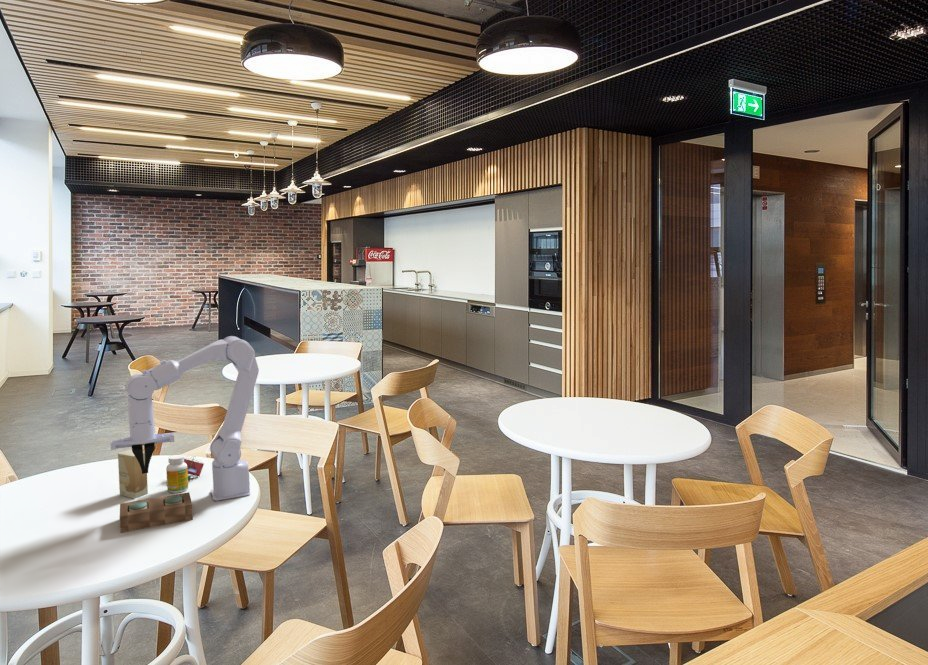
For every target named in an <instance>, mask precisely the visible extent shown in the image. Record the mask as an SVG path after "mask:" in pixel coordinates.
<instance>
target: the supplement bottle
mask: <svg viewBox="0 0 928 665" xmlns="http://www.w3.org/2000/svg"><path fill="white" fill-rule="evenodd" d="M184 459H185V456H184V455H183V454H174V455H171V456H169V457H168V464H167V466H166V469H165V470H166V486H167V492H168V493H170V494H180V493H184V492H185V491H187V490H188V489H189V476H188V471H187V464H186V463H185V462H184Z"/></svg>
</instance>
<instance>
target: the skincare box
mask: <svg viewBox="0 0 928 665" xmlns="http://www.w3.org/2000/svg"><path fill="white" fill-rule="evenodd" d="M117 459H118V460H117V461H118V466H117V467H118V484H119V487H118V488H119V496H123V497H127V498H132V499H137V498H140V497H143V496H145V495H147V494H148V493H149V491H148V490H149V489H148V486H149V485H148V473H144V474H142V470H141V467H140V464H139V462H138V460H137V458H136V457H135V455H134V454H133V452H132V448H130V449H126V450H124V451H120V452H118V453H117ZM143 459H144V465H145V451H143Z"/></svg>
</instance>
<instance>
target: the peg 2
mask: <svg viewBox="0 0 928 665" xmlns="http://www.w3.org/2000/svg"><path fill="white" fill-rule="evenodd" d="M178 503H182V497H180V496H173V497H169V498H167V499H165V506H166V505H172V504H178Z"/></svg>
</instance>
